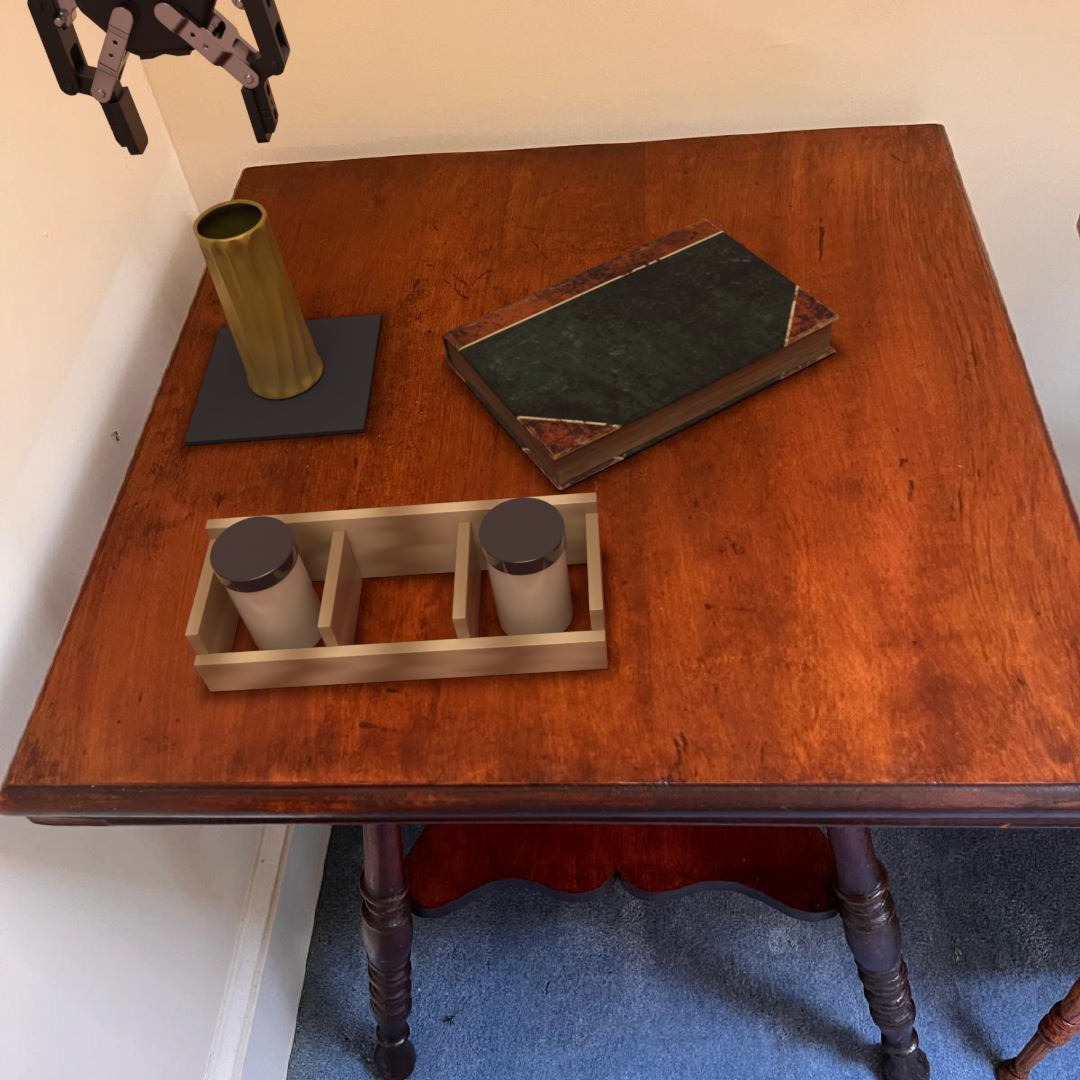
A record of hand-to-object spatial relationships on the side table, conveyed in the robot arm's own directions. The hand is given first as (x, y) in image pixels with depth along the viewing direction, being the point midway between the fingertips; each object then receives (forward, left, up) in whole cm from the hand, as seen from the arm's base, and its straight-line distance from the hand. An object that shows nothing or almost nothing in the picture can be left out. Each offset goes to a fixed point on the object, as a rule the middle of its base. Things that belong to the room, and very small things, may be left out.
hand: (202, 143), depth 68 cm
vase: (0, 0, -20) cm, 20 cm away
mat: (0, 0, -20) cm, 20 cm away
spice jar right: (+20, -25, -20) cm, 38 cm away
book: (+28, -1, -21) cm, 35 cm away
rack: (+12, -25, -20) cm, 34 cm away
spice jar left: (+4, -25, -20) cm, 33 cm away
